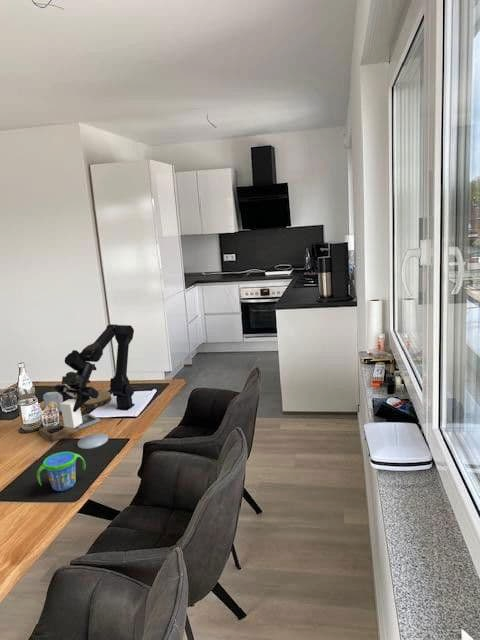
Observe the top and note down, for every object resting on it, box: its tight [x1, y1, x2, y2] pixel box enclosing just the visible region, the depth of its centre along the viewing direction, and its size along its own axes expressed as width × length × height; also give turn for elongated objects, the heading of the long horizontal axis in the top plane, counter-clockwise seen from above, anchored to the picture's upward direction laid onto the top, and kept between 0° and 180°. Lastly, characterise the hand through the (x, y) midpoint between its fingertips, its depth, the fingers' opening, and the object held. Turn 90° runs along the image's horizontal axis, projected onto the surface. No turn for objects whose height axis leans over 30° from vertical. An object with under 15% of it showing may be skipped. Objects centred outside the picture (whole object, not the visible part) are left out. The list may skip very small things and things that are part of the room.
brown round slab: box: [80, 390, 112, 409], centre depth 240 cm, size 16×16×3 cm
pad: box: [76, 433, 109, 450], centre depth 197 cm, size 12×12×1 cm
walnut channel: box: [38, 420, 80, 443], centre depth 208 cm, size 12×11×2 cm
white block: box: [61, 398, 83, 428], centre depth 197 cm, size 5×5×10 cm
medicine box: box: [42, 391, 63, 412], centre depth 233 cm, size 8×4×9 cm, turn 84°
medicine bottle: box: [62, 370, 77, 398], centre depth 253 cm, size 7×7×12 cm
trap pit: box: [78, 413, 101, 431], centre depth 216 cm, size 10×10×2 cm
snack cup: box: [36, 451, 87, 492], centre depth 164 cm, size 16×10×10 cm
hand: (68, 410), depth 195 cm, fingers closed on white block, 5 cm apart
